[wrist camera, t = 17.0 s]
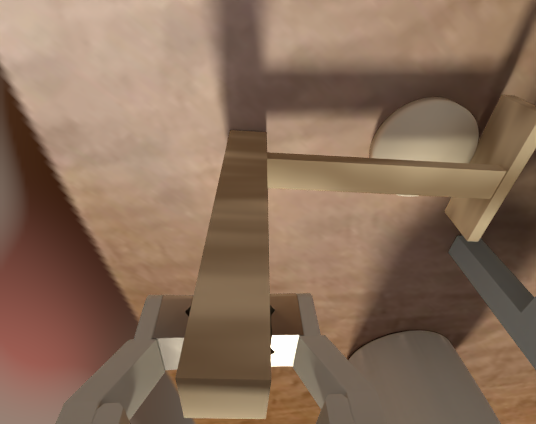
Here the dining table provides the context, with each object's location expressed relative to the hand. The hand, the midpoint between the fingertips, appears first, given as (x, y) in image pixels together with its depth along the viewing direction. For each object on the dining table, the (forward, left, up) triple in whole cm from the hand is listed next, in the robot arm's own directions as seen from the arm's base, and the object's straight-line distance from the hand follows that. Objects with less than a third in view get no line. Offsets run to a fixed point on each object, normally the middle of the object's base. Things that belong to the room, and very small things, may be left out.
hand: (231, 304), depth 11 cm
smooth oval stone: (0, +13, -13) cm, 18 cm away
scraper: (0, +8, -13) cm, 15 cm away
